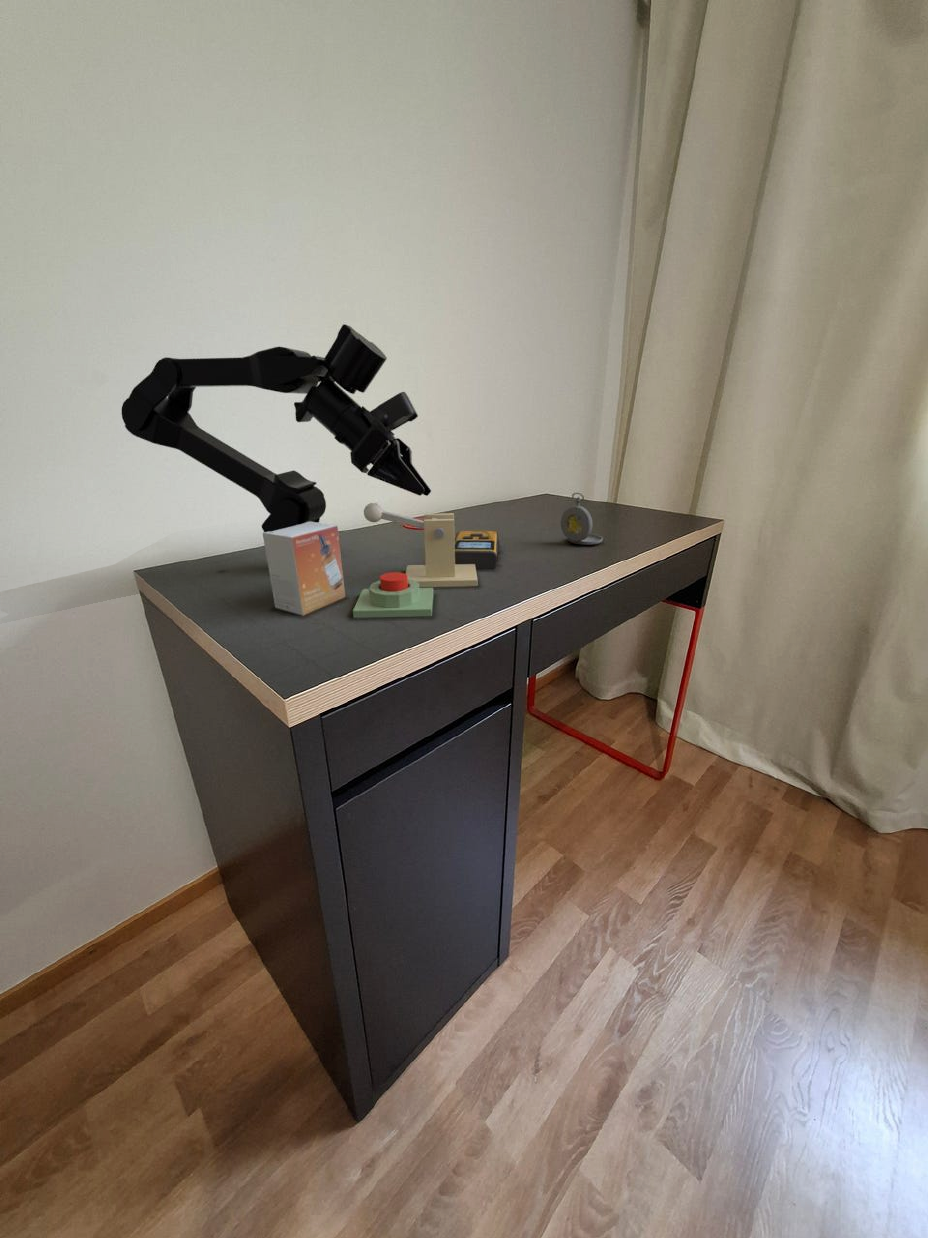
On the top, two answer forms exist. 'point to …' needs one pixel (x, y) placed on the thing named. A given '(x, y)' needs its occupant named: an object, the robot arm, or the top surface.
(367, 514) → the lever
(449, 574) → the bracket
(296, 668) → the top surface
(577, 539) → the pocket watch
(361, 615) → the button block
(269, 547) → the small box
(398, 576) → the button
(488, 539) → the electronic device
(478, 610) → the top surface
